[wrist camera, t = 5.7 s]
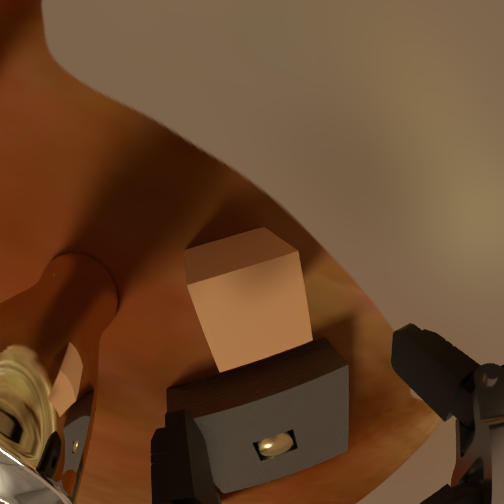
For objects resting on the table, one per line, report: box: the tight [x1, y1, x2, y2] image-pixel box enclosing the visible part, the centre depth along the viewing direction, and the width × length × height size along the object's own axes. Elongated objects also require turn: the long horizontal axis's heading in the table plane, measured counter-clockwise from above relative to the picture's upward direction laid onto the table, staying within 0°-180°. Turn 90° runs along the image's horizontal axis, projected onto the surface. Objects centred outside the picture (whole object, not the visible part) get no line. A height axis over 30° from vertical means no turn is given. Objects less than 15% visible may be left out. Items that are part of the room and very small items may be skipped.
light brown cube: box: [184, 227, 313, 372], centre depth 17 cm, size 6×6×6 cm
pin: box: [257, 431, 293, 456], centre depth 23 cm, size 3×3×4 cm
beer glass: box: [0, 253, 118, 504], centre depth 11 cm, size 7×7×15 cm
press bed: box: [167, 338, 349, 494], centre depth 23 cm, size 14×14×4 cm
